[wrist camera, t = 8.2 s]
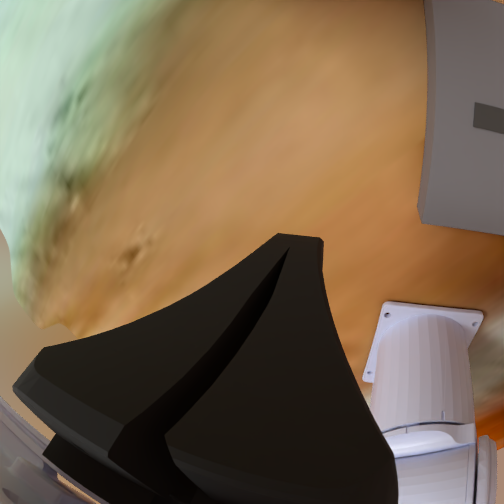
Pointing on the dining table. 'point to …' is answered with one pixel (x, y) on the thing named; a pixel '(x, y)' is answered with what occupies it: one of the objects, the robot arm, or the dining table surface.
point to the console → (464, 116)
